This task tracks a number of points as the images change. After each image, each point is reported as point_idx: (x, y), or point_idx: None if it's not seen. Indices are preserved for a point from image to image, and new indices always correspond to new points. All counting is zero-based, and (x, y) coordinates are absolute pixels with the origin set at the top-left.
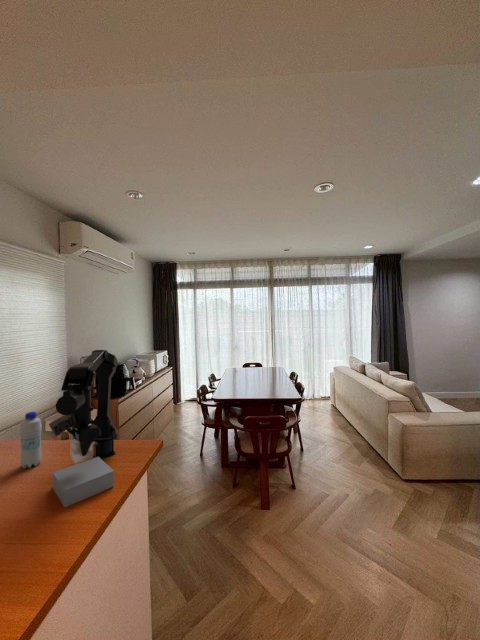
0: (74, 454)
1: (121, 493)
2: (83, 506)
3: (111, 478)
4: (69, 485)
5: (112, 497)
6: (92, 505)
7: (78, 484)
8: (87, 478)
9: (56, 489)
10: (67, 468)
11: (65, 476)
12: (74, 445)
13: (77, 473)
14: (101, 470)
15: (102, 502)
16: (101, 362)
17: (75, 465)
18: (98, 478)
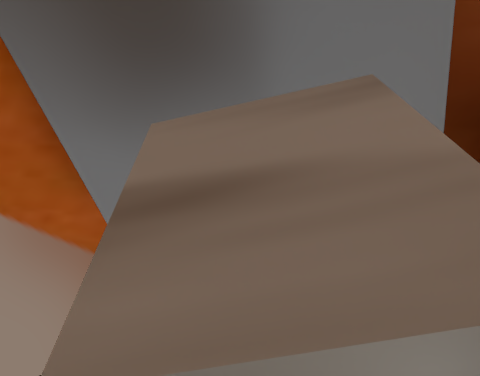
0: (136, 185)
1: (78, 244)
2: (18, 81)
3: None
4: (47, 20)
5: (57, 211)
6: (13, 125)
7: (37, 93)
8: (112, 157)
9: None
10: (424, 5)
11: None
12: (74, 342)
13: (249, 91)
14: None
15: (27, 169)
16: None
17: (424, 80)
18: (107, 211)
